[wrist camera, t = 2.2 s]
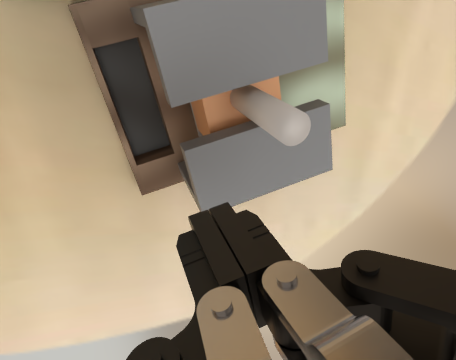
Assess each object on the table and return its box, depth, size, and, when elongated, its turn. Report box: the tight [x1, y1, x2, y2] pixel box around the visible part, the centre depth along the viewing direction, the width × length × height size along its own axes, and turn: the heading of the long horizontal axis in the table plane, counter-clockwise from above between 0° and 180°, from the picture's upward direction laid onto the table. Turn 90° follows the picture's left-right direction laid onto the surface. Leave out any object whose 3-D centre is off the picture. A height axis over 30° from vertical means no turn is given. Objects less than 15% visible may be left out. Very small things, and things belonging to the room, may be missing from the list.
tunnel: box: [130, 0, 332, 212], centre depth 26 cm, size 14×11×8 cm
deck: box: [68, 0, 346, 195], centre depth 31 cm, size 16×22×2 cm
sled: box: [190, 76, 311, 146], centre depth 24 cm, size 8×6×13 cm
